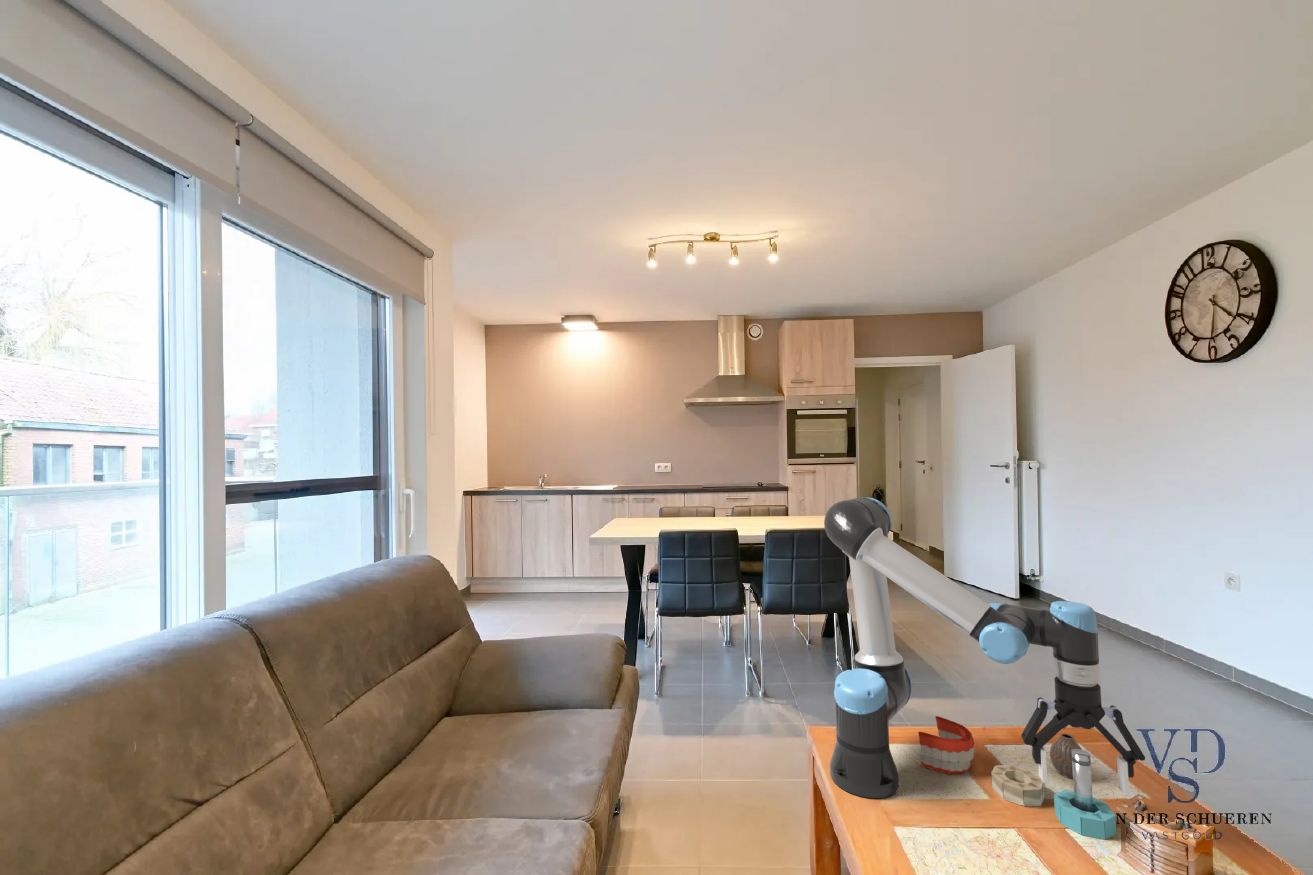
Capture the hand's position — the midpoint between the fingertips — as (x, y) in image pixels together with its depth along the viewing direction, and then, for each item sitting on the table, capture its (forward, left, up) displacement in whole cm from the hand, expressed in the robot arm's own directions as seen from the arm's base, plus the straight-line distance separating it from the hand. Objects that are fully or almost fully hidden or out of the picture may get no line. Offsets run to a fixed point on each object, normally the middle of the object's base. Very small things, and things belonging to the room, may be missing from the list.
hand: (1082, 785), depth 111 cm
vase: (+3, +19, -8) cm, 21 cm away
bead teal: (0, 0, -7) cm, 7 cm away
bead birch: (-10, +7, -7) cm, 14 cm away
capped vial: (0, 0, -7) cm, 7 cm away
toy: (-22, +15, -8) cm, 28 cm away
